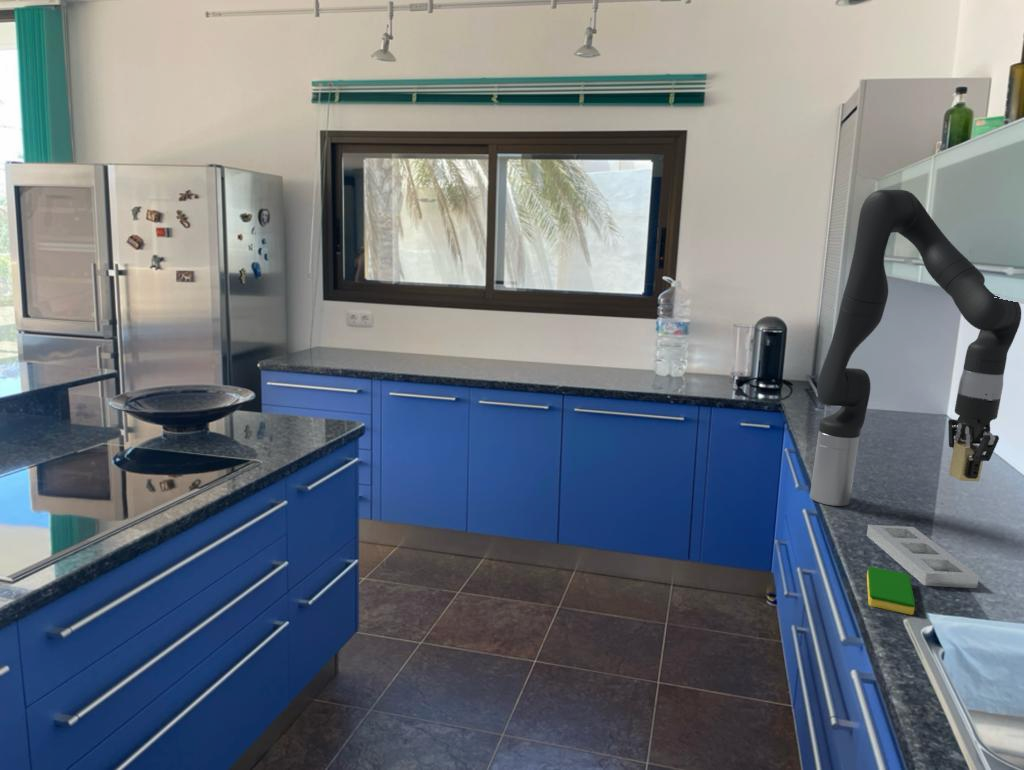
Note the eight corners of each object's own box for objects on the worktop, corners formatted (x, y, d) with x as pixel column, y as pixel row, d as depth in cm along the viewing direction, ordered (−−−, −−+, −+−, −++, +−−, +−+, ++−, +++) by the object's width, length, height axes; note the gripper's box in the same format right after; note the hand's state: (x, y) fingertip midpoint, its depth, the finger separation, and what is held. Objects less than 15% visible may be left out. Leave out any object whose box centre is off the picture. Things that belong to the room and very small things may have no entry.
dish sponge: (868, 607, 134) (870, 595, 134) (866, 577, 147) (868, 565, 146) (913, 617, 132) (915, 604, 131) (907, 585, 144) (909, 573, 144)
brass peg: (948, 474, 159) (954, 442, 158) (967, 475, 159) (973, 443, 158) (959, 480, 155) (965, 447, 154) (979, 481, 155) (985, 448, 154)
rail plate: (866, 535, 167) (868, 524, 166) (911, 537, 167) (913, 527, 166) (924, 585, 143) (926, 573, 143) (977, 588, 143) (979, 575, 143)
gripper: (941, 385, 161) (928, 463, 164) (982, 400, 147) (966, 485, 150) (976, 387, 161) (962, 464, 164) (1020, 402, 147) (1004, 486, 150)
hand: (964, 474), depth 157 cm, fingers closed on brass peg, 4 cm apart
